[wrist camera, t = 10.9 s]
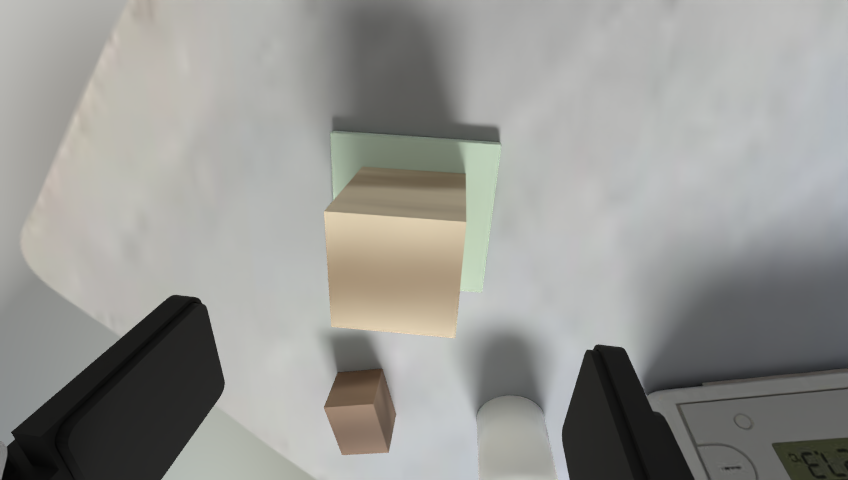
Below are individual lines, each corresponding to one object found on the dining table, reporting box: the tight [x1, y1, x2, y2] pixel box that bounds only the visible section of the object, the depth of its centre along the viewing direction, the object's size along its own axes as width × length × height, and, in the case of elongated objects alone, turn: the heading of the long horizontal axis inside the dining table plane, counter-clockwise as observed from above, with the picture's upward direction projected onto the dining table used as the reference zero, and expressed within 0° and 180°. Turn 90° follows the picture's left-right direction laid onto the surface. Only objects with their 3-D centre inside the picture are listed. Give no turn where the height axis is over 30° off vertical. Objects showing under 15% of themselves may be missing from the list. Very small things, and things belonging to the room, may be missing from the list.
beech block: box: [324, 167, 466, 338], centre depth 18 cm, size 5×5×6 cm
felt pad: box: [330, 131, 501, 293], centre depth 21 cm, size 8×8×1 cm
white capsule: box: [477, 395, 558, 480], centre depth 25 cm, size 4×4×5 cm
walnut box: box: [324, 369, 396, 455], centre depth 26 cm, size 4×3×3 cm
